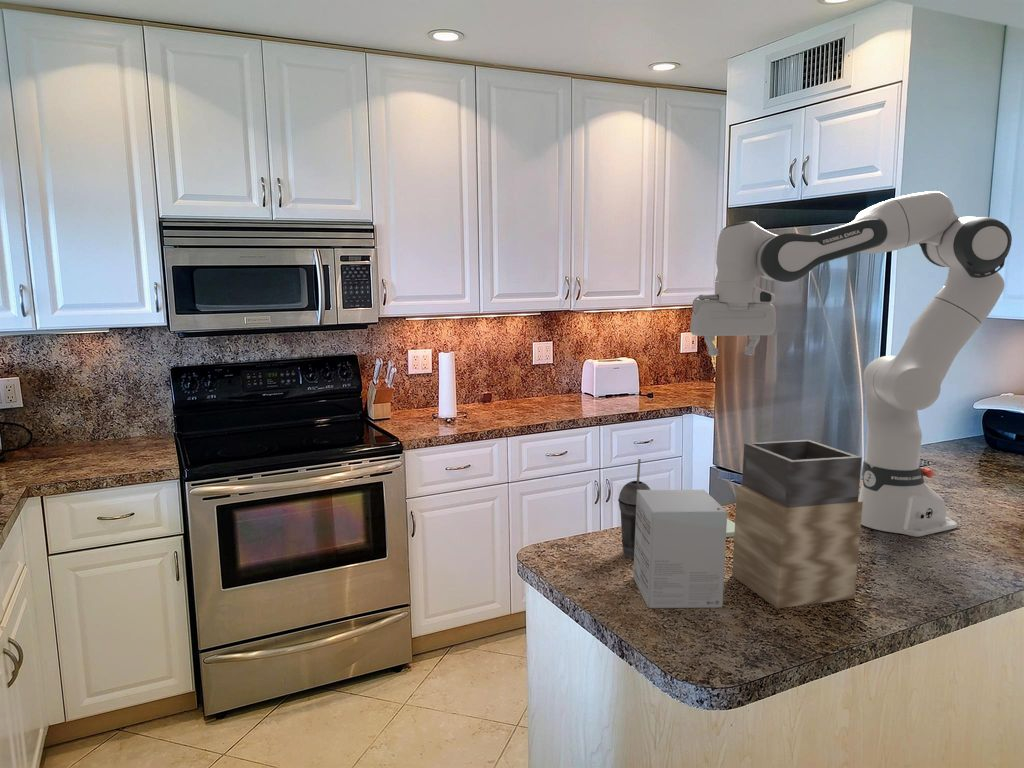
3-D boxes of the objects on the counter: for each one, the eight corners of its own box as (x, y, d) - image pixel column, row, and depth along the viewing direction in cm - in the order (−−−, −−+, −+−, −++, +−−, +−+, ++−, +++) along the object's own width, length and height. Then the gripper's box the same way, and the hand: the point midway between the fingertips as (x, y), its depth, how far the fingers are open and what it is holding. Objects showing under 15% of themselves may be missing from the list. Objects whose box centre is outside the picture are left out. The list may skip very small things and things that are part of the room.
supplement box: (701, 577, 135) (705, 488, 133) (723, 608, 122) (729, 511, 120) (632, 577, 135) (635, 488, 132) (647, 609, 122) (651, 511, 119)
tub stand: (803, 567, 140) (813, 439, 136) (854, 598, 126) (866, 457, 123) (731, 575, 136) (739, 443, 132) (776, 608, 122) (786, 462, 119)
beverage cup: (611, 557, 144) (614, 462, 141) (623, 545, 150) (626, 454, 148) (646, 564, 141) (649, 466, 138) (656, 552, 147) (660, 458, 144)
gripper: (700, 294, 155) (697, 357, 157) (781, 295, 160) (777, 355, 162) (686, 294, 161) (683, 354, 163) (765, 294, 166) (761, 353, 168)
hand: (731, 355), depth 163 cm, fingers open, 8 cm apart
